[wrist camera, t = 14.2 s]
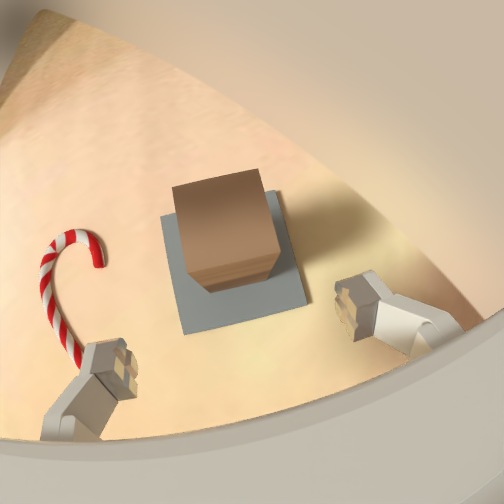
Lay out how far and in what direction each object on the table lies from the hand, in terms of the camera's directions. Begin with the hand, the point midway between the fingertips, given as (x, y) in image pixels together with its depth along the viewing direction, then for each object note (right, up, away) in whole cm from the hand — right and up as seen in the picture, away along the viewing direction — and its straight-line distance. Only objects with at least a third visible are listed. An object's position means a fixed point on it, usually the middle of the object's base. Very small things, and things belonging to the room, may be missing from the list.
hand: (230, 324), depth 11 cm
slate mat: (-1, +2, +14) cm, 14 cm away
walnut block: (-1, +2, +14) cm, 14 cm away
